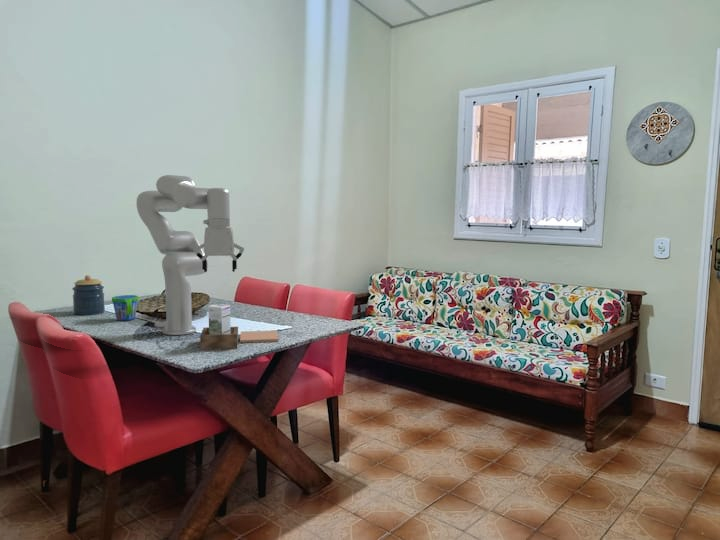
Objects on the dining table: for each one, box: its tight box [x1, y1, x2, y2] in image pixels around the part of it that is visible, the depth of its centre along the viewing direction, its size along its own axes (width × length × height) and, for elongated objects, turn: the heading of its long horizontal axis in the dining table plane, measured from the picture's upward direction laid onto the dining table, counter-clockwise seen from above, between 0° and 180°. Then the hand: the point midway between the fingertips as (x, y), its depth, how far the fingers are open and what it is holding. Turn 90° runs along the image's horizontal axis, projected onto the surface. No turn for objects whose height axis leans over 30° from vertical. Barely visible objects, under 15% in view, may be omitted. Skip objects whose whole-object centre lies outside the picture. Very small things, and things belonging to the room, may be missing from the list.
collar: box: [199, 326, 239, 350], centre depth 183 cm, size 12×12×5 cm
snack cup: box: [111, 294, 139, 322], centre depth 221 cm, size 16×10×10 cm
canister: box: [71, 274, 106, 316], centre depth 234 cm, size 13×13×18 cm
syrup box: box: [207, 303, 231, 334], centre depth 182 cm, size 6×6×14 cm
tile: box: [239, 329, 279, 344], centre depth 194 cm, size 14×14×1 cm
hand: (219, 271), depth 180 cm, fingers open, 9 cm apart
